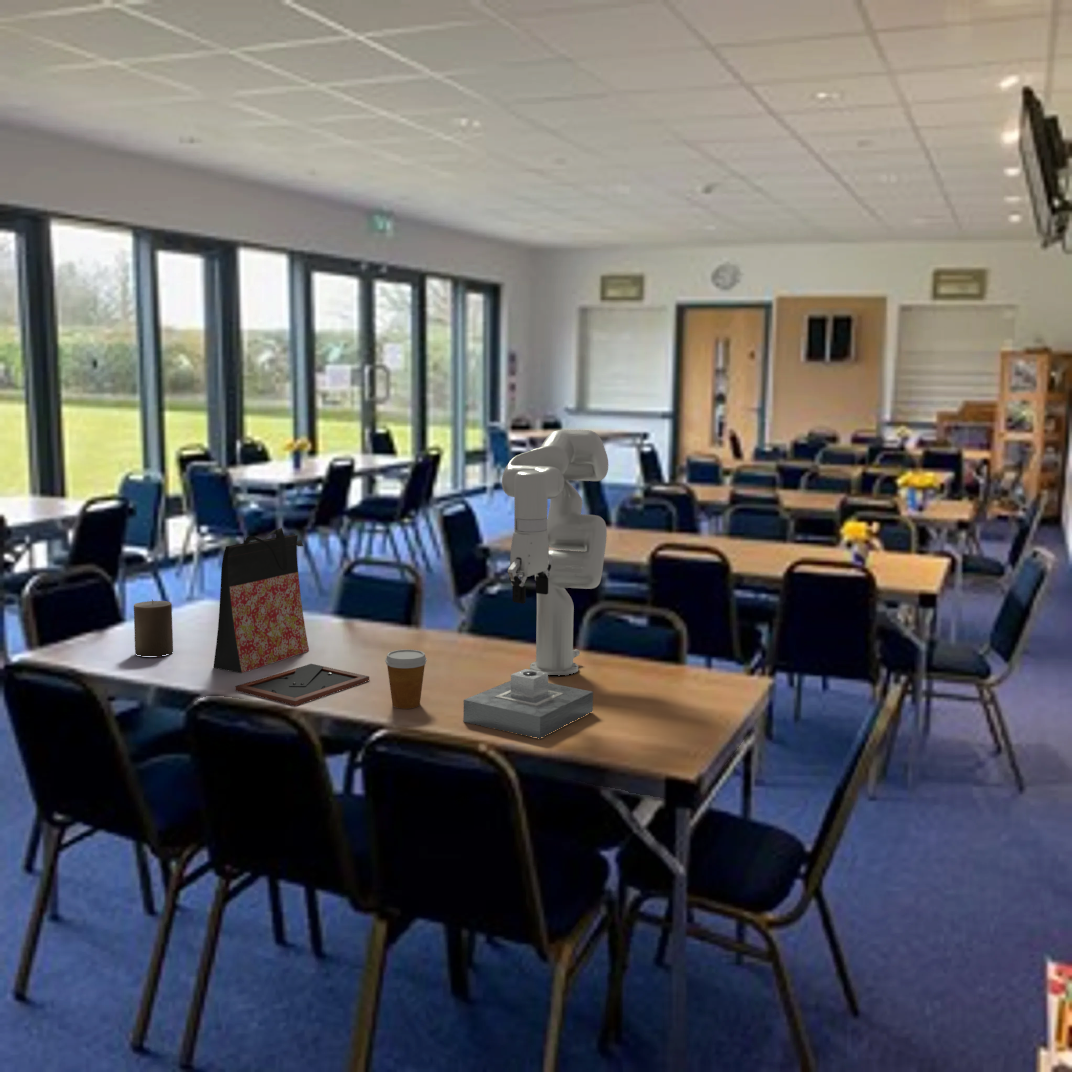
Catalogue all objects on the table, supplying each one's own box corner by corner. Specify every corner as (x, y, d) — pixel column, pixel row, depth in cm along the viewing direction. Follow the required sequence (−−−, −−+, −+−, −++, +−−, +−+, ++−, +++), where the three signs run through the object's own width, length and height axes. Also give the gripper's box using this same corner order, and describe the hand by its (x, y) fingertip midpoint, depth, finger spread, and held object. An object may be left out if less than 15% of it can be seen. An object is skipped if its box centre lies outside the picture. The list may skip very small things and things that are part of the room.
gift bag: (250, 675, 263) (246, 537, 257) (208, 667, 269) (204, 532, 264) (325, 649, 288) (323, 524, 283) (285, 643, 295) (283, 520, 290)
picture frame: (311, 670, 270) (235, 693, 249) (311, 662, 270) (235, 685, 249) (369, 683, 259) (294, 708, 238) (369, 675, 259) (294, 699, 238)
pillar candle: (165, 658, 276) (163, 603, 274) (128, 657, 276) (127, 602, 274) (178, 649, 286) (177, 596, 284) (143, 648, 286) (141, 595, 284)
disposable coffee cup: (377, 704, 240) (376, 653, 238) (409, 696, 247) (409, 646, 245) (402, 714, 234) (402, 662, 232) (435, 705, 240) (435, 654, 238)
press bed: (519, 697, 247) (519, 676, 246) (592, 713, 236) (593, 690, 236) (463, 721, 229) (463, 698, 228) (539, 739, 218) (540, 715, 217)
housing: (525, 690, 236) (525, 668, 235) (547, 694, 233) (548, 672, 232) (510, 696, 231) (510, 673, 230) (533, 701, 228) (533, 678, 227)
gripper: (537, 517, 246) (536, 588, 249) (495, 529, 232) (495, 603, 235) (564, 521, 242) (563, 592, 245) (523, 533, 228) (523, 608, 231)
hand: (530, 598), depth 240 cm, fingers open, 9 cm apart
